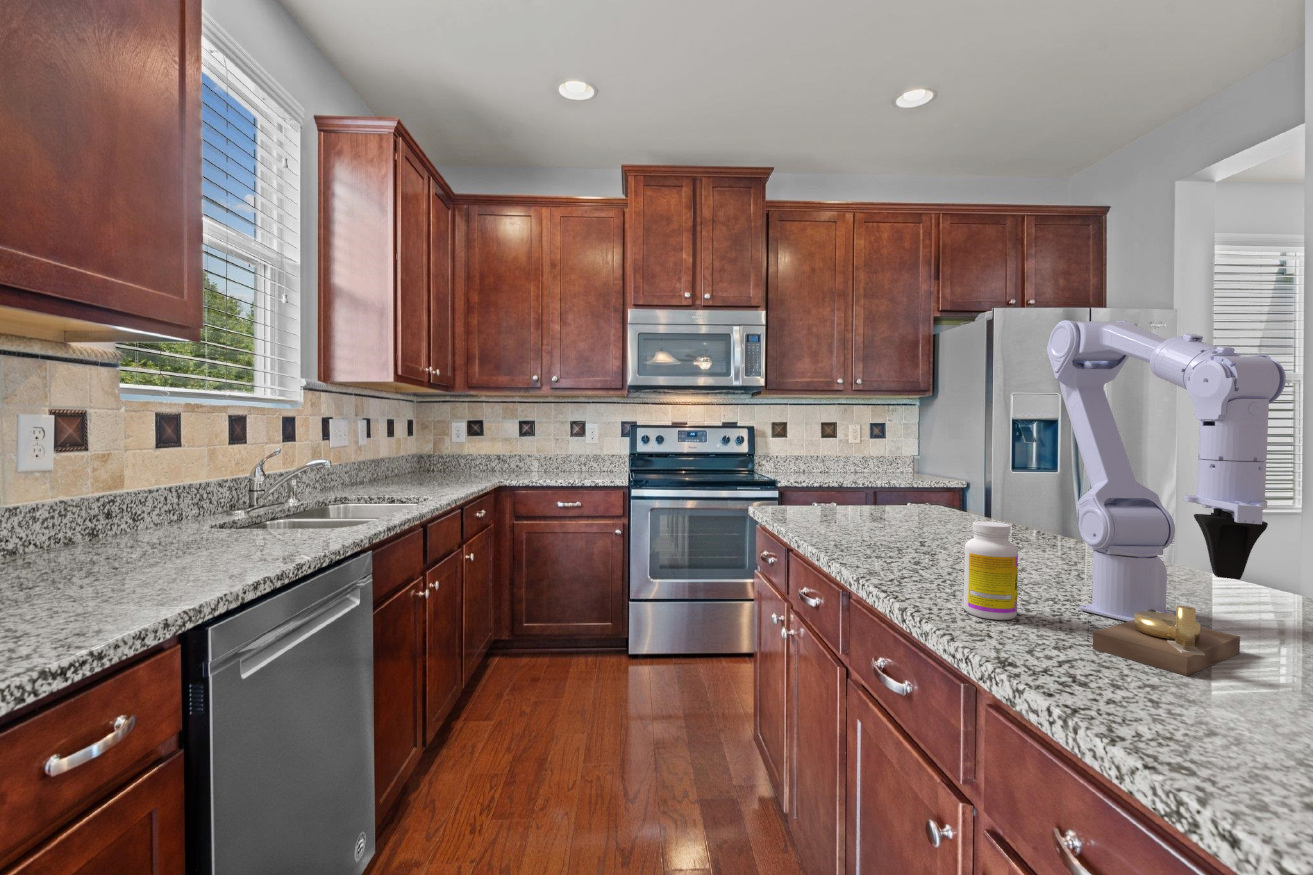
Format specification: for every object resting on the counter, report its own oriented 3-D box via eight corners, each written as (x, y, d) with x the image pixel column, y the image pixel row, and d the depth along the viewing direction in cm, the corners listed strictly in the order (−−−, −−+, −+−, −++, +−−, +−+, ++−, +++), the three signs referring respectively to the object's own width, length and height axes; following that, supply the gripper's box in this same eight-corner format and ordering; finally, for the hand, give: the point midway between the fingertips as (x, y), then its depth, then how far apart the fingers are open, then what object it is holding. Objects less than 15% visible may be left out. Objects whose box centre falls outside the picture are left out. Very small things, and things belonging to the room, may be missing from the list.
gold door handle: (1127, 620, 76) (1128, 585, 76) (1188, 627, 73) (1189, 591, 73) (1153, 646, 67) (1154, 605, 67) (1223, 655, 64) (1224, 613, 64)
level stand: (1148, 630, 79) (1149, 603, 79) (1246, 655, 71) (1247, 624, 71) (1092, 648, 72) (1093, 618, 72) (1194, 678, 64) (1195, 644, 64)
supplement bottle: (1024, 623, 82) (1026, 528, 81) (971, 619, 83) (973, 526, 83) (1006, 608, 88) (1008, 521, 88) (957, 605, 90) (959, 519, 89)
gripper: (1173, 456, 78) (1169, 560, 78) (1201, 462, 66) (1196, 586, 66) (1247, 458, 74) (1243, 567, 75) (1292, 465, 62) (1286, 596, 62)
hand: (1226, 577), depth 70 cm, fingers closed
